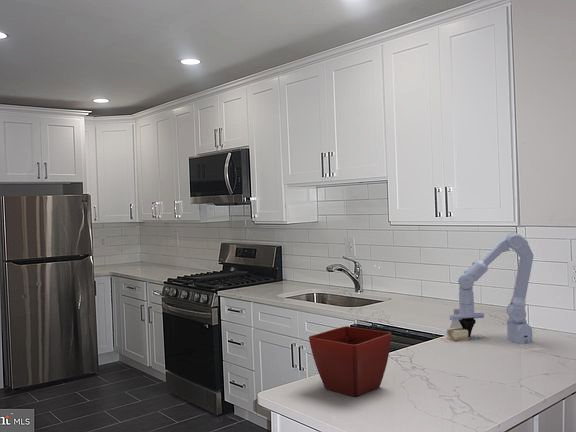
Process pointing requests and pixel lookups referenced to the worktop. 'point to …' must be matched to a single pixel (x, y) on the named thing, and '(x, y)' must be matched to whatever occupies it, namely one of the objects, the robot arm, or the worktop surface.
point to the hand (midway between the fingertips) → (467, 336)
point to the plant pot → (351, 358)
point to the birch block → (457, 334)
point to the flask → (456, 322)
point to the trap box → (469, 338)
